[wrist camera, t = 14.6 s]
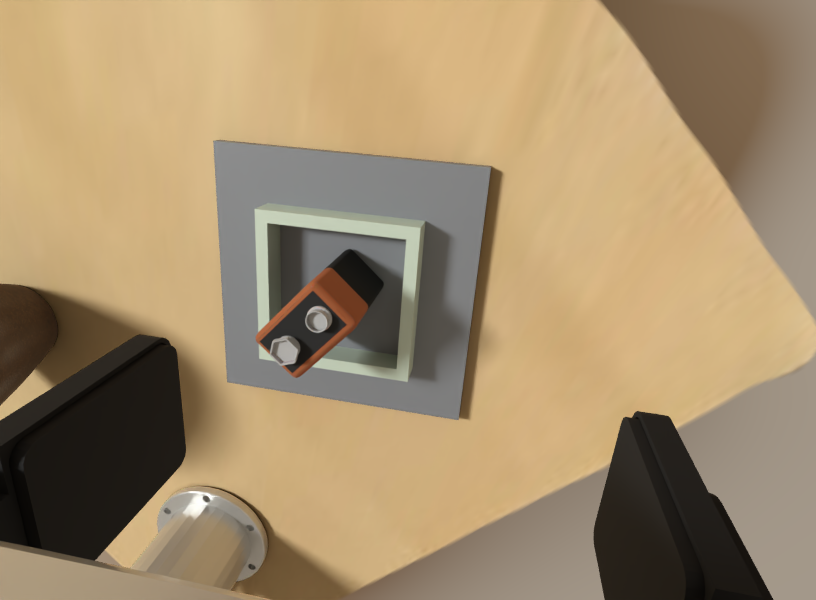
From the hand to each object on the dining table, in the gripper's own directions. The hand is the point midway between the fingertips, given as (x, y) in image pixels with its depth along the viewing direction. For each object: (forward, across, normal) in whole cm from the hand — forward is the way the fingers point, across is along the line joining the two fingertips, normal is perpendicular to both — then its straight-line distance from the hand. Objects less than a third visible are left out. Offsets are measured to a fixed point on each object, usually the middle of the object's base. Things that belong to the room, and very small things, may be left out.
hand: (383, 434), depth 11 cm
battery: (+32, +10, +9) cm, 34 cm away
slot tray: (+32, +10, +9) cm, 35 cm away
